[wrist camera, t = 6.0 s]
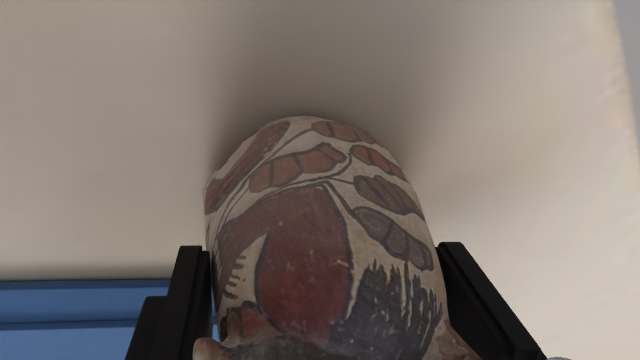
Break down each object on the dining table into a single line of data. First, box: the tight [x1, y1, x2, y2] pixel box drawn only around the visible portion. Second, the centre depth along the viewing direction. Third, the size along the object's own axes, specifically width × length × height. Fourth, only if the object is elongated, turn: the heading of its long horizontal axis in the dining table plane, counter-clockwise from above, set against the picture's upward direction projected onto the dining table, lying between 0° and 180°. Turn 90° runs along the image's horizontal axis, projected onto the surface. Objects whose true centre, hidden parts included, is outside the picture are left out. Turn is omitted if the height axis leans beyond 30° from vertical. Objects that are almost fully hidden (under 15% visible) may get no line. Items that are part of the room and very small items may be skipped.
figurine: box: [193, 116, 482, 360], centre depth 10 cm, size 7×7×12 cm
